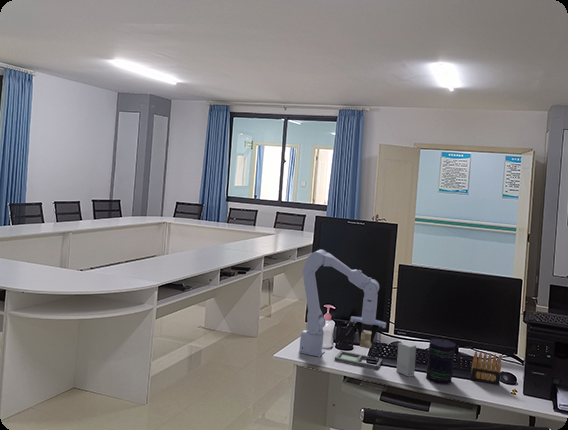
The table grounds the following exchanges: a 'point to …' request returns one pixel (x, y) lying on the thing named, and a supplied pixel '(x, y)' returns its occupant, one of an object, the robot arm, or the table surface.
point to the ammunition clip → (486, 369)
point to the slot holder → (355, 359)
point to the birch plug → (365, 339)
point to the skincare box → (406, 358)
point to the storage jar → (440, 361)
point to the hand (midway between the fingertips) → (366, 341)
